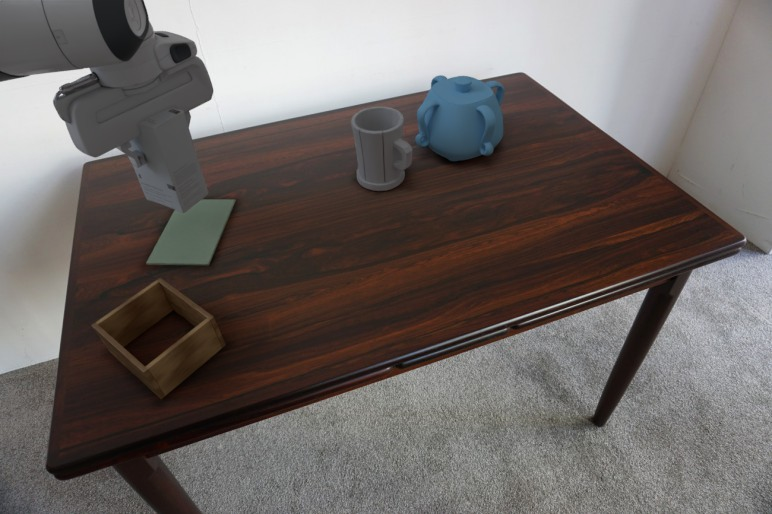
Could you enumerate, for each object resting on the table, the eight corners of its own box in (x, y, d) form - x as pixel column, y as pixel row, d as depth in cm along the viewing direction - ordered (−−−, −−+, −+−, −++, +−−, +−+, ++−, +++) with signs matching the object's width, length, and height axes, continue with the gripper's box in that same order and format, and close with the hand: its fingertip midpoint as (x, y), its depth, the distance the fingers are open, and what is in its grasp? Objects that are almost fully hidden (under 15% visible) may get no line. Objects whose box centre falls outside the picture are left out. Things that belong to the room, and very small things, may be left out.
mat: (209, 265, 81) (208, 263, 81) (146, 264, 82) (145, 263, 81) (235, 201, 92) (235, 199, 92) (181, 200, 93) (180, 199, 93)
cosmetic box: (146, 200, 81) (106, 115, 71) (173, 179, 85) (139, 95, 75) (186, 215, 78) (151, 127, 68) (213, 192, 82) (183, 106, 72)
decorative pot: (510, 132, 105) (519, 66, 95) (488, 175, 95) (496, 107, 85) (434, 118, 110) (435, 54, 101) (405, 158, 100) (404, 91, 90)
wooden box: (161, 399, 64) (143, 372, 60) (110, 353, 70) (90, 325, 66) (226, 345, 70) (213, 316, 66) (174, 305, 75) (160, 277, 71)
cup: (415, 164, 98) (415, 106, 90) (412, 194, 92) (411, 134, 83) (360, 163, 99) (354, 105, 91) (353, 192, 93) (347, 133, 84)
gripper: (59, 99, 59) (109, 195, 69) (205, 38, 70) (230, 128, 80) (33, 84, 62) (85, 179, 72) (177, 28, 73) (204, 116, 83)
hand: (162, 152), depth 76 cm, fingers closed on cosmetic box, 6 cm apart
